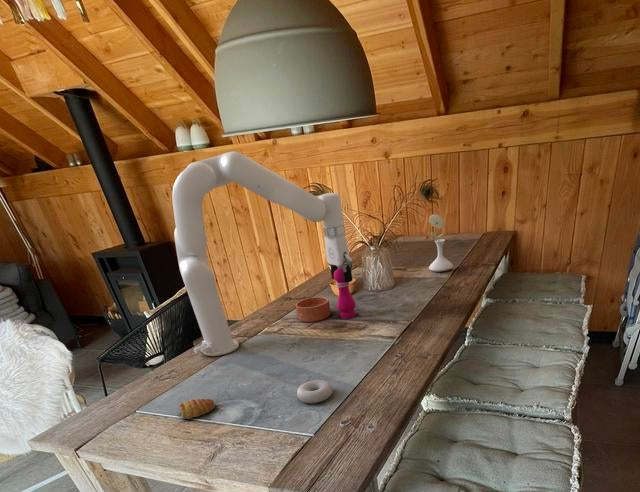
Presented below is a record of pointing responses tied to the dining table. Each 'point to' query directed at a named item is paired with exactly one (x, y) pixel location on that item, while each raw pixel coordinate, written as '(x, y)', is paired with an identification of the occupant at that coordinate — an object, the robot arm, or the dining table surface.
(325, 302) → the bowl
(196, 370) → the dining table surface
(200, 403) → the pastry
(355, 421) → the dining table surface
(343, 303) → the pepper mill
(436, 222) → the flower in vase
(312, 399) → the donut
